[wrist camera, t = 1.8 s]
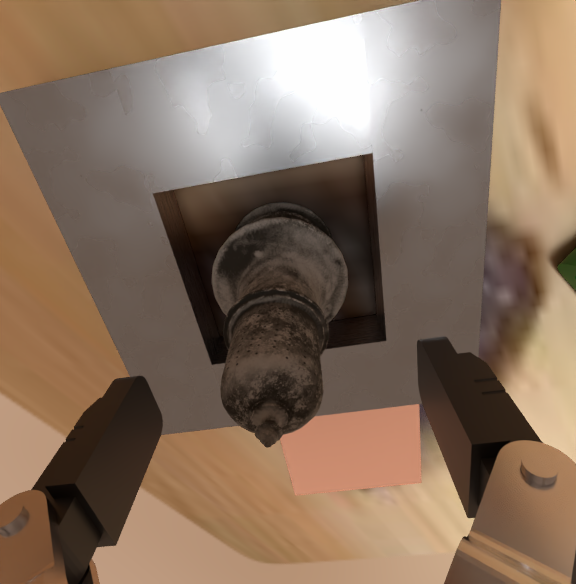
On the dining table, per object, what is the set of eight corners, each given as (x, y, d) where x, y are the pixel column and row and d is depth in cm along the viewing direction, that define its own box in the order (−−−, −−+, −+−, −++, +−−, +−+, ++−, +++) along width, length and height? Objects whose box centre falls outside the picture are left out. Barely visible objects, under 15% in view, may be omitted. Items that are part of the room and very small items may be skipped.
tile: (271, 397, 24) (270, 404, 24) (415, 379, 23) (418, 386, 23) (295, 487, 28) (295, 495, 28) (418, 475, 27) (421, 482, 27)
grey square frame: (35, 93, 16) (-5, 94, 14) (470, -2, 15) (502, -18, 12) (170, 404, 24) (158, 435, 22) (458, 367, 23) (475, 397, 21)
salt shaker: (334, 304, 21) (375, 525, 10) (227, 301, 21) (158, 518, 10) (345, 197, 18) (417, 348, 8) (221, 193, 18) (120, 338, 8)
